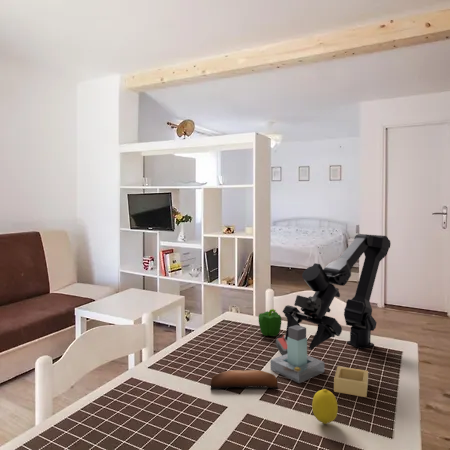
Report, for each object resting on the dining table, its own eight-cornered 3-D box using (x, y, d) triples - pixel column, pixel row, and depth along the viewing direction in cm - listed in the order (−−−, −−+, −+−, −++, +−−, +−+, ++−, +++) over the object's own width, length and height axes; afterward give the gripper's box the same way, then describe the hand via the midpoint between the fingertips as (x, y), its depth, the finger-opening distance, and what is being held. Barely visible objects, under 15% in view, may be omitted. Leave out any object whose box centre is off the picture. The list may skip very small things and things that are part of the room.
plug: (296, 366, 116) (296, 324, 115) (307, 371, 113) (307, 327, 112) (287, 370, 114) (287, 327, 113) (297, 375, 110) (297, 330, 110)
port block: (295, 359, 121) (295, 349, 121) (324, 372, 112) (324, 360, 112) (270, 369, 114) (270, 358, 114) (299, 383, 106) (299, 371, 105)
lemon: (308, 417, 89) (309, 384, 89) (332, 416, 90) (332, 382, 89) (316, 432, 84) (316, 396, 83) (341, 430, 84) (341, 394, 83)
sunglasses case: (273, 374, 111) (275, 360, 107) (276, 397, 105) (278, 383, 101) (211, 375, 111) (210, 361, 107) (210, 398, 105) (210, 384, 101)
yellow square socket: (337, 378, 108) (337, 366, 108) (367, 383, 105) (368, 370, 105) (333, 391, 101) (334, 378, 101) (366, 397, 98) (366, 383, 98)
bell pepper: (255, 331, 147) (255, 306, 146) (276, 329, 149) (276, 304, 148) (263, 339, 139) (263, 312, 138) (284, 337, 141) (284, 310, 140)
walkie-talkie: (311, 360, 122) (294, 337, 142) (311, 346, 122) (294, 325, 141) (283, 361, 121) (270, 338, 141) (283, 347, 121) (270, 326, 141)
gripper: (286, 280, 122) (261, 321, 116) (336, 290, 108) (310, 338, 102) (303, 300, 128) (279, 340, 122) (352, 312, 113) (328, 359, 107)
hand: (297, 344), depth 113 cm, fingers open, 9 cm apart
